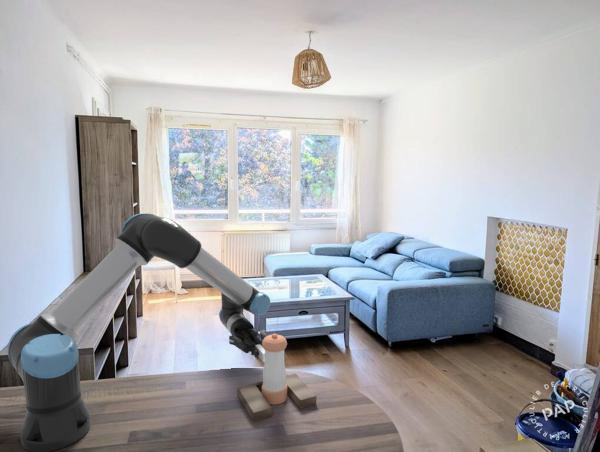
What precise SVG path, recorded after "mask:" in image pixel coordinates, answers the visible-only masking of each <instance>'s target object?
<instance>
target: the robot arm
mask: <svg viewBox="0 0 600 452" xmlns="http://www.w3.org/2000/svg"><path fill="white" fill-rule="evenodd" d="M114 240H115V246H114V248H113V249H112V250H111V251H110V252H109V253H108V254H107V255H106V256H105V257H104V258H103V260H101V261H100V262H99V263H98V265H97V266H95V267H94V268H93V269H92V270H91V272H89V273H88V275H87V276H85V278H84V279H83V280H82V281H81V282H80V283H78V285H77V286H76V287H75V288H74V289H73V290H72V291H71V292H70V293H69V294H68V295H67V296H66V297H65V298H64V299H63V300H62V301H61V302H60V303H59V304H57V306H56V307H55V308H54V310H52V311H51V312H49V313H43V314H42V313H41V314H40V315H39V316H38V318H36V319H35V320H34V321H33V322H32V323H31V322H30V323H28V324H24V325H23V326H20V327H19V328H18V329H17V330H16V331H15V332H14V333H13V334H12V336H11V337H10V338H9V341H8V344H7V355H8V360H9V363H10V365H12V368H14V369H15V371H16V372H17V373H18V375H19V377H20V378H21V380H22V382H23V389H24V398H25V405H26V412H25V415H24V420H23V422H22V426H21V429H20V444H21V447H23V449H24V450H26V451H28V452H54V451H57V450H60V449H63V448H65V447H69V446H70V445H73V444H75V443H76V442H78V441H79V440H81V439H82V438H83V437H84V436H85V435H87V433H88V432H89V431H90V429H91V427H92V415H91V412H90V410H89V408H88V407H87V404H86V403H85V400H84V398H83V396H82V390H81V389H82V387H81V375H80V362H79V361H80V360H79V358H80V357H79V356H80V353H79V349H78V345H77V341H78V332H79V331H80V330H81V329H82V327H83V326H84V325H85V324H86V323H87V322H88V321H89V320H90V319H91V318H92V317H93V316H94V315H95V313H96V312H97V311H99V309H100V308H101V307H102V306H103V305H104V304H105V303H106V302H107V300H108V299H109V298H111V297H112V295H113V294H114V293H115V292H116V291H117V290H118V289H119V288H120V287H121V285H123V283H124V282H125V281H126V280H127V279H128V278H129V277H130V276H131V275H132V274H133V272H134V271H135V270H136V269H137V268H138V267H139V266H147V265H148V264H149V263H150V261H152V260H153V258H155V257H156V258H159V259H161V260H164V261H166V262H169V263H171V264H173V265H175V266H176V267H178V268H179V269H187V270H188V271H190V272H191V273H193V274H194V275H196V277H198V278H200V279H201V280H203V281H204V282H206V284H208V285H210V286H211V287H212V288H214V289H215V290H217V291H218V292H220V293H221V296H220V297H221V308H220V311H219V314H218V317H219V319H220V322H221V324H222V325H223V326H224V327H225V328H226V330H227V331H228V332H229V333H230V335H229V337H228V343H229V345H232V346H234V347H236V348H237V349H238V350H240V351H242V352H243V353H245V354H249V353H250V354H251V356H255V357H258V358H259V360H260V361H261V362H262V363H265V349H264V348H263V346H262V341H263V340H264V338H265V337H266V336H267V335H266V332H267V331H266V329H261V330H260V331H259V330H258V329H257V328H255V327H254V324H252V322H250V320H249V319H248V318H247V317H246V316H245V315H244V313H243V310H244V311H247V312H249V313H251V314H253V315H256V316H263V315H265V314H266V313H267V312H268V311H269V309H270V306H271V298H270V297H269V296H268V295H267V294H266V293H264V292H261V291H259V290H257V289H256V288H255V287H254V286H252V285H251V284H249V283H248V282H247V281H245V280H244V279H243V278H242V277H241V276H239V275H238V274H236V273H235V272H234V271H232V269H230V268H229V267H228V266H226V265H225V264H224V263H223V262H221V261H220V260H218V259H217V258H216V257H214V256H213V255H212V254H211V253H210V252H208V251H206V249H204V248H203V247H202V243H201V241H200V240H198V239H197V238H196V237H194V236H193V235H192V234H191V233H190V232H189V231H187V230H186V229H185V228H184V227H182V226H181V224H179V223H177V222H176V221H174V220H172V219H171V218H167V217H162V216H158V215H156V214H152V213H149V212H148V213H147V212H146V213H137V214H134V215H132V216H130V217H129V218H128V219H126V221H125V222H124V223H123V226H122V228H121V233H120V234H119V235H118V236H117V237H116V238H115V239H114Z"/></svg>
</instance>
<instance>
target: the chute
mask: <svg viewBox="0 0 600 452" xmlns="http://www.w3.org/2000/svg"><path fill="white" fill-rule="evenodd" d="M286 384H287V395H288V396H289V397H290V398H291V399H292V401H293V402H294V403H295V404H296V406H297V407H298V408H299V409H300V410H301V409H303V408H307V407H312V406H314V405H317V394H315V393H314V392H313V390H312V389H310V387H309V386H308V385H307V384H306V383H305V382H304V381H303V379H301V377H300V376H299V375H298V374H297V373H292V374H286ZM262 385H263V380H262V381H259V382H258V381H257V382H254V383H251V384H246V385H241V386H238V387H237V396H238V398H239V399H240V402H242V404H243V406H244V408H245V409H246V412H247V414H249V416H250V418H251V419H252V420H253V422H257V421H261V420H264V419H267V418H268V419H269V418H271V417H272V416H273V415H272V414H273V411H272V406H271V404H269V403H268V402H267V401H266V399H265V398H264V396H263V395H262Z"/></svg>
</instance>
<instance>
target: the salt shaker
mask: <svg viewBox="0 0 600 452" xmlns="http://www.w3.org/2000/svg"><path fill="white" fill-rule="evenodd" d="M287 345H288V342H287V339H286V337H285V336H283V335H281V334H277V333H272V334H269V335H266V337H265V338H264V340H263V341H262V346H263V348H264V349H265V362H264V364H263V370H262V371H263V372H262V381H263V385H262V392H261V393H262V395H263V396H264V398H265V399H266V401H267V402H268V403H269V405H274V406H275V405H279V404H280V405H281V404H283V403H285V401H287V399H288V393H287V384H286V376H287V371H286V364H285V350H286V348H287Z"/></svg>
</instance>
